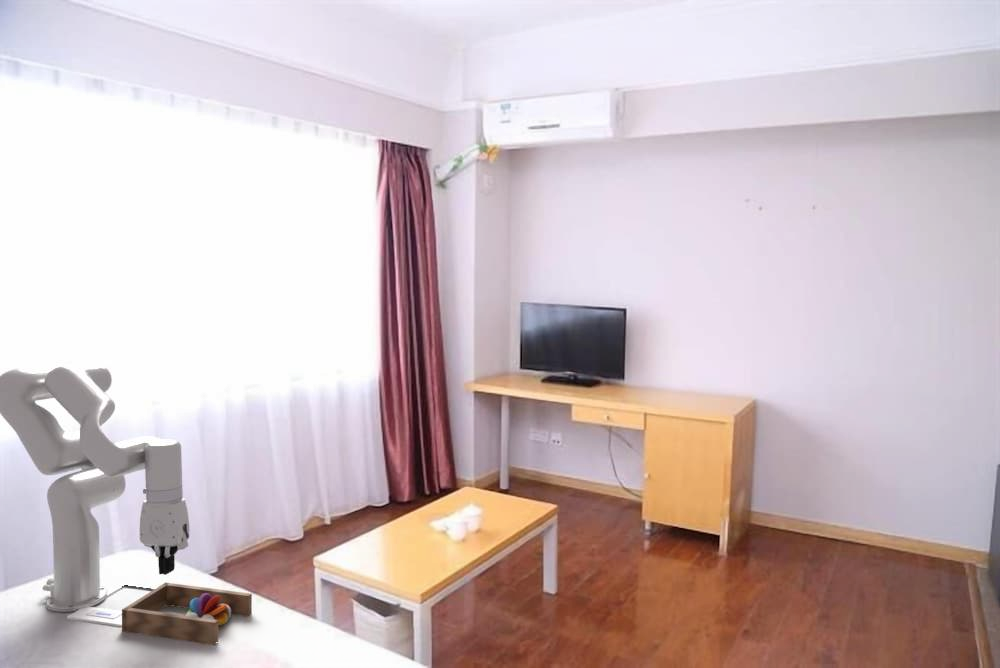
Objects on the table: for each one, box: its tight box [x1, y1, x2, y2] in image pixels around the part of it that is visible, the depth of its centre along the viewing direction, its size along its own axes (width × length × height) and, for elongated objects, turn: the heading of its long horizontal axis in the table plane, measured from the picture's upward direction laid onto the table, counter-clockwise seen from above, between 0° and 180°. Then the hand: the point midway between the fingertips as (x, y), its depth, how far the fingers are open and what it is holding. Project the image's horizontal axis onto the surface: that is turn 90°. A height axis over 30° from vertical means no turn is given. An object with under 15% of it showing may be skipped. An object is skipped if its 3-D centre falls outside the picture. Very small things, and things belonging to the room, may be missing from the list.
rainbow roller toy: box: [185, 593, 232, 626], centre depth 155 cm, size 8×10×7 cm
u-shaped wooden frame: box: [121, 582, 253, 645], centre depth 156 cm, size 23×14×5 cm, turn 79°
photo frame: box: [66, 583, 157, 628], centre depth 164 cm, size 15×1×18 cm
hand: (166, 571), depth 157 cm, fingers closed
